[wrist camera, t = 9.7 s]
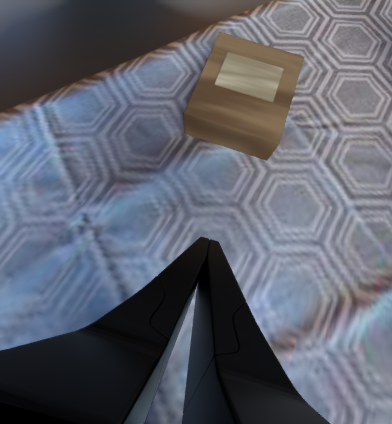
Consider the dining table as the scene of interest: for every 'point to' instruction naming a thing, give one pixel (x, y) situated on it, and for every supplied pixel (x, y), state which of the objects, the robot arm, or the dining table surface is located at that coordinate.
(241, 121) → the cardboard box
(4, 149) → the dining table surface
